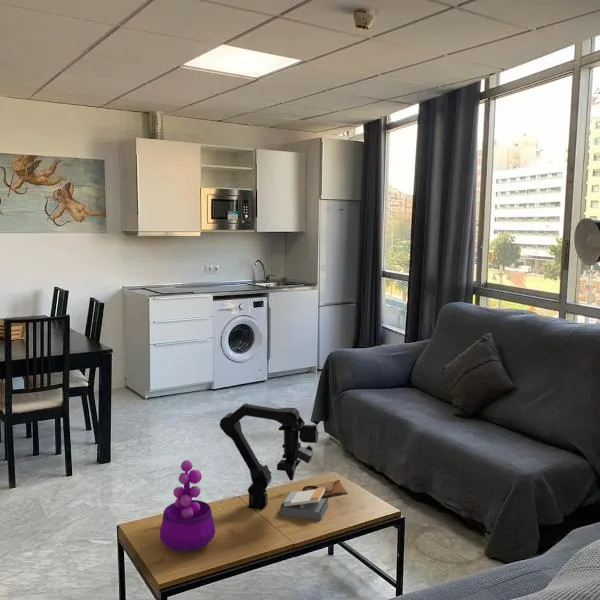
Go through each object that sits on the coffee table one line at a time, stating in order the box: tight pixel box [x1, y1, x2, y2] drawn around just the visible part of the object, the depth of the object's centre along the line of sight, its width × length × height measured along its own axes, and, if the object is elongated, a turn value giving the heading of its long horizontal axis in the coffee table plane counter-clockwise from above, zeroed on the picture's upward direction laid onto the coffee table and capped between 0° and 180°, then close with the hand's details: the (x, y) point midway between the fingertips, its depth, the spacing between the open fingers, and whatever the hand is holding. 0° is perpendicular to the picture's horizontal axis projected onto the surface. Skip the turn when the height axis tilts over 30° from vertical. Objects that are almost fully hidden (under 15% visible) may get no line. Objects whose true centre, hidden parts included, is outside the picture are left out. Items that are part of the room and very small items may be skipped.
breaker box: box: [279, 492, 329, 521], centre depth 234 cm, size 16×12×4 cm
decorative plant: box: [159, 459, 216, 552], centre depth 207 cm, size 19×18×30 cm
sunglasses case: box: [301, 479, 349, 499], centre depth 251 cm, size 18×7×7 cm
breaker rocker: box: [283, 487, 325, 506], centre depth 234 cm, size 14×11×2 cm
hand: (291, 480), depth 235 cm, fingers closed
